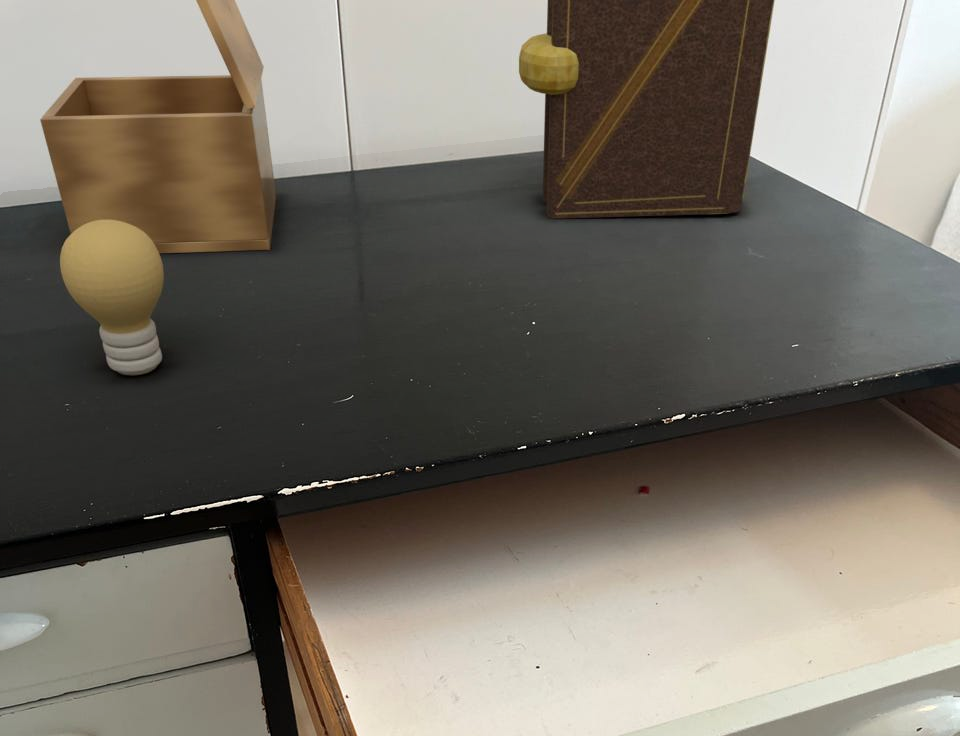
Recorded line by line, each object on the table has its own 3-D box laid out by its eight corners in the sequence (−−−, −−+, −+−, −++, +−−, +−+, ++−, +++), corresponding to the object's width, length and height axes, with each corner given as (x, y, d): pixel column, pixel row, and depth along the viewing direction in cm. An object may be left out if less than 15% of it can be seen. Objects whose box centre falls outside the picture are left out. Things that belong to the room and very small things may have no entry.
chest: (76, 256, 84) (39, 119, 77) (105, 202, 95) (75, 77, 88) (270, 249, 86) (251, 114, 79) (276, 197, 97) (260, 74, 90)
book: (728, 188, 99) (774, -121, 82) (749, 216, 92) (803, -113, 76) (514, 194, 98) (517, -115, 82) (520, 223, 92) (524, -107, 75)
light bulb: (123, 343, 71) (88, 201, 65) (199, 355, 70) (171, 212, 63) (71, 380, 67) (27, 233, 60) (151, 394, 65) (115, 245, 59)
